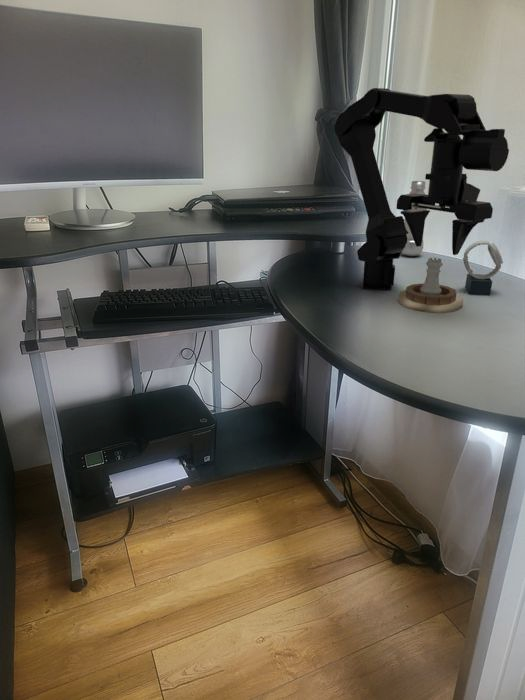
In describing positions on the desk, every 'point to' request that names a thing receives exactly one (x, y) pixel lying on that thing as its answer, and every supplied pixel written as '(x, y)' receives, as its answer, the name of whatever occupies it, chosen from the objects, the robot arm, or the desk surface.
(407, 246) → the plastic bottle
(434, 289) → the rook chess piece
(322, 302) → the desk surface
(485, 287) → the watch
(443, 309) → the well tray
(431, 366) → the desk surface
